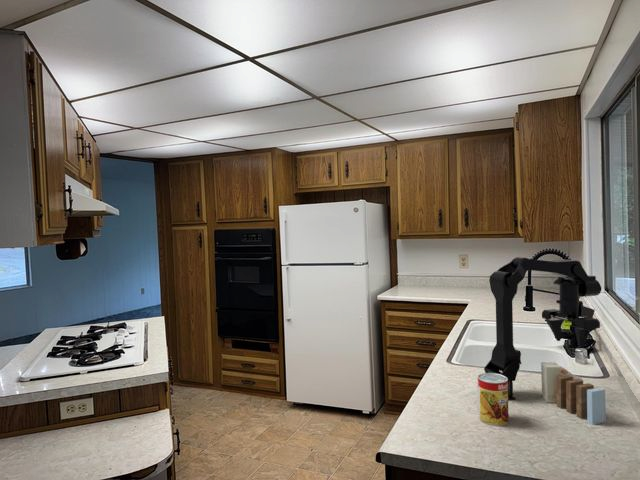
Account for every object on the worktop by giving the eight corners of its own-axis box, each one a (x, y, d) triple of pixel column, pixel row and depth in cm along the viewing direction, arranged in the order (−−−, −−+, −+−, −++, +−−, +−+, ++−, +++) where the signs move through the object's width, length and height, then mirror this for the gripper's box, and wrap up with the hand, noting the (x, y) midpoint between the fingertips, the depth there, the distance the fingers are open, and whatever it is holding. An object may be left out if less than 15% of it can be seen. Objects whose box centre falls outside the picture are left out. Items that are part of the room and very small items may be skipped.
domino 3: (594, 416, 122) (593, 385, 122) (581, 419, 121) (580, 387, 121) (589, 414, 124) (589, 383, 123) (576, 416, 122) (576, 385, 122)
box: (561, 403, 131) (561, 367, 131) (546, 402, 132) (545, 366, 132) (556, 396, 137) (555, 361, 136) (541, 396, 137) (540, 361, 137)
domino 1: (573, 406, 129) (573, 376, 129) (561, 408, 128) (560, 378, 128) (569, 404, 131) (568, 375, 130) (556, 406, 129) (556, 376, 129)
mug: (588, 393, 139) (572, 367, 138) (557, 401, 144) (542, 376, 143) (585, 380, 145) (570, 355, 145) (556, 388, 150) (541, 364, 150)
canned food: (509, 427, 118) (508, 383, 117) (478, 423, 120) (477, 381, 120) (507, 415, 125) (506, 374, 124) (478, 412, 128) (477, 371, 127)
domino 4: (605, 422, 119) (605, 389, 118) (592, 424, 117) (591, 391, 117) (600, 419, 120) (600, 387, 120) (587, 422, 119) (586, 389, 119)
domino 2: (583, 411, 125) (583, 380, 125) (571, 413, 124) (570, 382, 124) (579, 409, 127) (578, 379, 127) (566, 411, 126) (566, 380, 126)
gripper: (614, 300, 137) (614, 349, 137) (566, 292, 155) (567, 335, 155) (585, 302, 134) (585, 352, 134) (540, 294, 152) (540, 338, 152)
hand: (569, 344), depth 144 cm, fingers open, 9 cm apart
